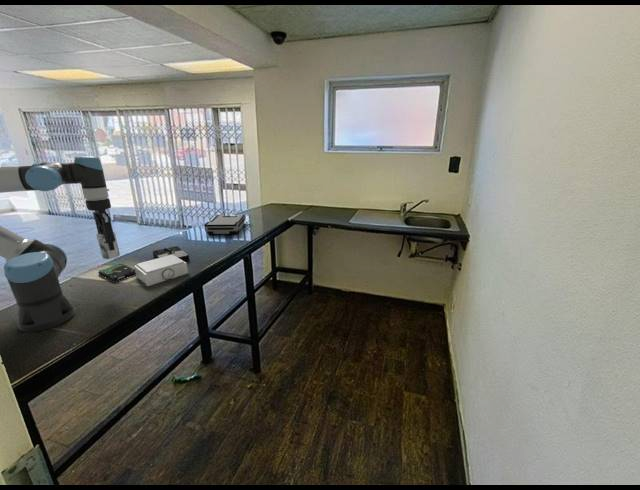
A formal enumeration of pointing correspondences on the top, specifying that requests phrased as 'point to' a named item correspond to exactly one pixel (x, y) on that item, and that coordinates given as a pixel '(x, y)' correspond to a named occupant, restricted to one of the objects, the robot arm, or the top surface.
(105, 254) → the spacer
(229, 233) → the game console
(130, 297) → the top surface
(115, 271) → the disk drive
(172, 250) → the multimeter
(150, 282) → the scale
